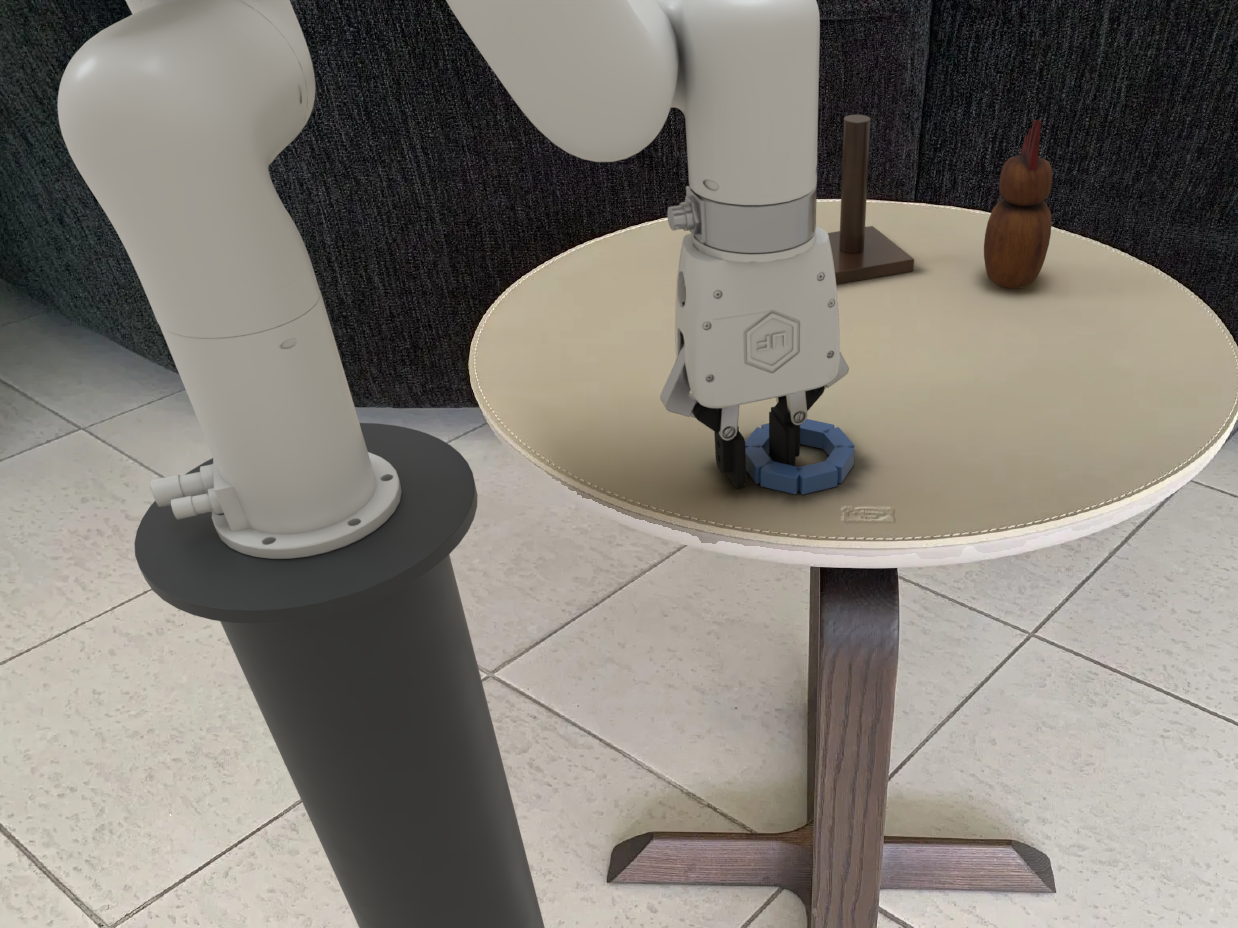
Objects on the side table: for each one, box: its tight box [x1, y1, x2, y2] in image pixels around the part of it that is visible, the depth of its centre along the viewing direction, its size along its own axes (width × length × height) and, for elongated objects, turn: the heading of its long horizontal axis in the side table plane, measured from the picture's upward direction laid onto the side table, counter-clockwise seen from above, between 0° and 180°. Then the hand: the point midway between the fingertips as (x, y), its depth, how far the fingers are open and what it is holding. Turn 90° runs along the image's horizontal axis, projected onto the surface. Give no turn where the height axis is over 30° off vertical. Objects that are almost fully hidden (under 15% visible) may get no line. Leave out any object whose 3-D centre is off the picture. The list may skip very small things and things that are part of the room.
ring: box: [745, 418, 856, 495], centre depth 76 cm, size 8×8×1 cm
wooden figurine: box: [983, 119, 1053, 289], centre depth 96 cm, size 7×6×15 cm
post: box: [827, 114, 915, 285], centre depth 100 cm, size 9×9×13 cm
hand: (758, 469), depth 76 cm, fingers open, 3 cm apart
